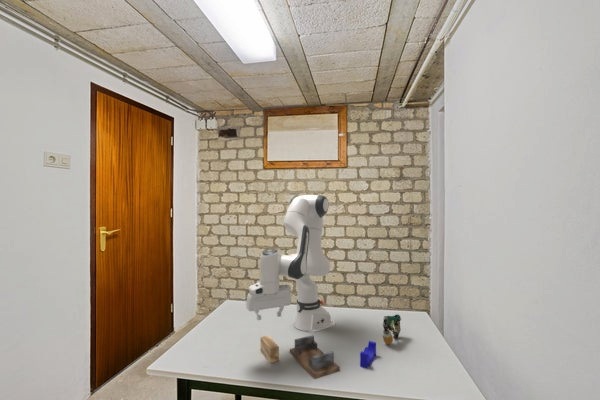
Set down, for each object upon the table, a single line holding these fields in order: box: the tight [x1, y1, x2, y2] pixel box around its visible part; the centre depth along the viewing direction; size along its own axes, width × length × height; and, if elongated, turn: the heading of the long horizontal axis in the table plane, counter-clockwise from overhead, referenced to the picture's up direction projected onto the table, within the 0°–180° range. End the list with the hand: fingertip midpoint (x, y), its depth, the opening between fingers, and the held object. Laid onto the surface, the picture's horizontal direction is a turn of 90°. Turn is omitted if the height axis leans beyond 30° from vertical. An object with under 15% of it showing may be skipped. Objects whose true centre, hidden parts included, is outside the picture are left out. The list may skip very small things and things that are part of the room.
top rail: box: [260, 335, 280, 363], centre depth 133 cm, size 4×12×6 cm, turn 27°
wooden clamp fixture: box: [289, 334, 341, 379], centre depth 128 cm, size 12×22×6 cm, turn 27°
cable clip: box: [359, 340, 377, 369], centre depth 129 cm, size 12×4×6 cm, turn 149°
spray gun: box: [382, 313, 402, 345], centre depth 146 cm, size 4×17×15 cm, turn 137°
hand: (269, 317), depth 133 cm, fingers open, 8 cm apart
